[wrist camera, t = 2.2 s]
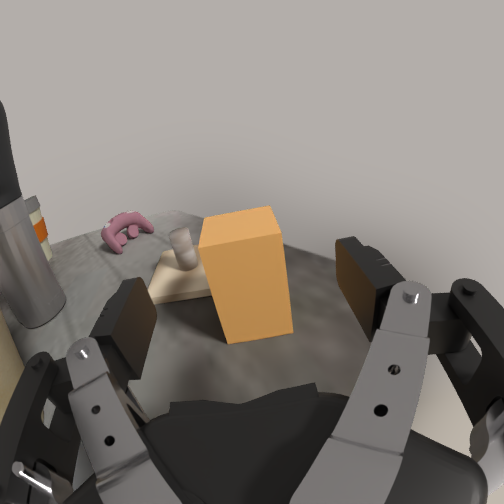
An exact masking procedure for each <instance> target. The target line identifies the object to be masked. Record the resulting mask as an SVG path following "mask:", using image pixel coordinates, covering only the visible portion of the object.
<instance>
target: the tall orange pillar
mask: <svg viewBox="0 0 504 504" xmlns="http://www.w3.org/2000/svg"><path fill="white" fill-rule="evenodd" d="M198 250H199V253H200V257H201V260H202V264H203V267H204V270H205V274H206V277H207V280H208V284H209V287H210V290H211V293H212V297H213V300H214V303H215V306H216V309H217V312H218V316H219V319H220V322H221V325H222V328H223V331H224V334H225V337H226V340H227V343H228V344H232V343H239V342H245V341H251V340H257V339H263V338H269V337H274V336H279V335H285V334H290V333H293V326H292V317H291V307H290V298H289V290H288V281H287V273H286V264H285V256H284V248H283V241H282V234H281V230H280V228H279V226H278V223H277V221H276V219H275V216H274V214H273V211H272V209H271V207H270V206H265V207H259V208H253V209H248V210H243V211H237V212H232V213H226V214H222V215H216V216H211V217H206V218H204V222H203V227H202V232H201V236H200V241H199V246H198Z"/></svg>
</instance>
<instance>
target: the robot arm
mask: <svg viewBox="0 0 504 504" xmlns="http://www.w3.org/2000/svg"><path fill="white" fill-rule="evenodd" d="M21 195H22V193H21V190H20V187H19V183H18V178H17V173H16V168H15V165H14V160H13V155H12V150H11V144H10V137H9V130H8V123H7V117H6V113H5V110H4V107H3V104H2V103H1V101H0V291H1V292H2V294H3V296H4V298H5V300H6V301H7V303H8V305H9V306H10V308H11V310H12V311H13V313H14V315H15V316H16V318H17V319H18V321H19V322H20V323H23V325H24V326H25V327H26V328H35V327H38V326H41V325H43V324H44V323H46V322H48V321H49V320H51V319H52V318H53V317H54V316H55V315H56V314H57V313H58V312H59V311H60V310H61V308H62V307H63V305H64V304H65V301H66V296H65V294H64V292H63V290H62V288H61V286H60V284H59V282H58V281H57V279H56V277H55V274H54V272H53V270H52V268H51V266H50V264H49V262H48V260H47V258H46V255H45V253H44V251H43V249H42V246H41V244H40V242H39V239H38V237H37V234H36V232H35V229H34V227H33V224H32V222H31V219H30V216H29V214H28V211H27V208H26V205H25V202H24V199H23V197H22V196H21ZM335 251H336V276H337V281H338V285H339V287H340V289H341V291H342V293H343V294H344V296H345V298H346V300H347V302H348V303H349V305H350V307H351V309H352V310H353V312H354V314H355V316H356V318H357V320H358V321H359V323H360V325H361V327H362V329H363V331H364V333H365V334H366V336H367V338H368V340H369V342H372V344H371V347H370V349H369V352H368V355H367V357H366V360H365V363H364V365H363V368H362V370H361V373H360V375H359V377H358V380H357V382H356V385H355V387H354V389H353V391H352V394H351V396H350V397H348V396H345V395H341V394H336V393H327V392H318V391H317V388H316V384H315V383H310V384H306V385H301V386H297V387H292V388H287V389H281V390H277V391H275V392H272V393H270V394H267V395H265V396H262V397H259V398H257V399H254V400H251V401H249V402H246V403H242V404H232V403H223V402H214V401H207V400H199V401H184V402H170V410H169V413H166V414H163V415H160V416H158V417H156V418H154V419H152V420H151V421H150V420H149V418H148V417H147V415H146V413H145V412H144V410H143V409H142V407H141V405H140V404H139V402H138V400H137V399H136V397H135V395H134V394H133V392H132V390H131V389H130V387H129V386H128V381H129V380H140V379H141V375H142V371H143V367H144V363H145V359H146V356H147V352H148V348H149V345H150V341H151V338H152V334H153V331H154V327H155V324H156V320H157V313H156V309H155V306H154V304H153V301H152V299H151V297H150V295H149V292H148V290H147V288H146V285H145V283H144V281H143V279H142V278H141V277H137V278H132V279H126V280H123V281H122V283H121V285H120V287H119V289H118V290H117V292H116V293H115V294H114V295H113V296H112V297H111V298H110V299H109V300H108V301H107V303H106V304H105V306H104V308H103V311H102V312H101V314H100V317H99V318H98V320H97V321H96V323H95V325H94V327H93V329H92V331H91V333H90V335H89V337H86V338H82V339H80V340H78V341H76V342H75V343H74V344H73V345H72V346H71V347H70V348H69V349H68V351H67V354H66V357H65V358H62V359H59V360H56V361H54V360H53V358H52V357H51V356H50V354H49V353H47V352H39V353H37V354H36V355H34V356H33V357H32V358H31V359H30V360H29V361H28V363H27V364H26V366H25V368H24V370H23V373H22V375H21V377H20V379H19V381H18V383H17V385H16V387H15V390H14V392H13V394H12V396H11V399H10V401H9V404H8V406H7V408H6V411H5V413H4V416H3V419H2V421H1V424H0V504H486V503H487V497H488V495H489V494H491V493H492V492H494V491H495V490H496V489H498V488H499V487H501V486H502V485H503V484H504V308H503V307H502V306H501V305H500V304H499V303H498V302H497V300H496V299H495V298H494V297H493V296H492V295H491V294H490V293H489V292H488V291H487V290H486V289H485V288H484V287H483V286H482V285H481V284H480V283H479V282H477V281H475V280H472V279H467V278H463V279H458V280H456V281H455V282H454V283H453V284H452V287H451V291H450V293H434V294H433V293H432V294H431V292H430V290H429V289H428V288H427V287H426V286H424V285H423V284H421V283H418V282H414V281H406V280H405V279H404V278H403V276H402V275H401V274H400V273H399V272H398V271H397V270H396V269H395V268H394V267H393V266H392V264H390V262H389V261H388V260H387V259H385V257H384V256H383V255H382V254H381V253H380V252H379V251H378V250H376V249H374V248H372V247H370V246H363V245H362V244H361V243H360V242H359V241H358V240H357V239H356V237H354V236H353V237H348V238H342V239H337V240H336V243H335ZM471 336H473V338H474V339H475V340H476V342H477V343H478V345H479V346H480V348H481V351H482V357H481V355H480V354H479V352H478V351H477V349H476V348H475V347H474V345H473V343H472V342H471V340H470V339H471ZM430 354H436V355H437V357H438V359H439V360H440V362H441V364H442V366H443V367H444V370H445V371H446V373H447V375H448V377H449V379H450V380H451V382H452V384H453V386H454V388H455V390H456V392H457V394H458V396H459V398H460V400H461V402H462V403H463V406H464V408H465V410H466V412H467V414H468V416H469V418H470V420H471V423H472V425H473V429H472V431H471V434H470V448H469V451H470V453H471V454H472V456H471V458H470V457H469V456H466V455H464V454H462V453H459V452H457V451H455V450H453V449H451V448H449V447H446V446H444V445H442V444H440V443H438V442H435V441H434V440H432V439H430V438H428V437H425V436H423V435H421V434H419V433H417V432H415V431H413V430H412V429H411V426H412V423H413V419H414V415H415V412H416V407H417V404H418V400H419V396H420V392H421V387H422V383H423V378H424V373H425V367H426V362H427V356H428V355H430ZM47 398H48V399H49V400H50V401H51V402H52V403H53V404H54V405H55V406H56V409H55V412H54V415H53V418H52V421H51V424H50V428H49V429H48V428H47V427H46V426H45V425H44V424H43V422H42V419H41V413H42V410H43V407H44V405H45V402H46V399H47ZM81 439H82V442H83V445H84V447H85V450H86V453H87V455H88V458H89V460H90V462H91V465H92V467H93V469H94V472H95V473H94V474H93V475H92V476H91V477H90V478H88V479H87V480H86V481H85V482H84V483H83V484H82V485H81V486H80V487H79V488H78V489H77V490H76V491H74V492H73V488H72V483H73V477H74V471H75V465H76V460H77V455H78V450H79V445H80V440H81Z"/></svg>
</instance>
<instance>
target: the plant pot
mask: <svg viewBox="0 0 504 504" xmlns="http://www.w3.org/2000/svg"><path fill="white" fill-rule="evenodd" d="M24 368H25V367H24V365H23V362H22V360H21V358H20V355H19V353H18V351H17V348H16V346H15V343H14V341H13V339H12V336H11V334H10V331H9V329H8V326H7V324H6V321H5V319H4V316H3V314H2V311H1V309H0V424H1V421H2V419H3V416H4V413H5V411H6V408H7V406H8V404H9V401H10V399H11V396H12V394H13V392H14V390H15V387H16V385H17V383H18V381H19V379H20V377H21V375H22V373H23V370H24ZM41 419H42V422H43V420H44V413H43V410H42V413H41Z"/></svg>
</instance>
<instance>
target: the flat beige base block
mask: <svg viewBox="0 0 504 504" xmlns="http://www.w3.org/2000/svg"><path fill="white" fill-rule="evenodd" d="M169 238H170V241H171V245H172V248H173V250H169V251H164V252H163V253H162V255H161V258H160V260H159V263H158V265H157V267H156V270H155V272H154V275H153V277H152V280H151V282H150V285H149V288H148V292H149V295H150V297H151V299H152V301H153V304H160V303H167V302H174V301H180V300H187V299H193V298H199V297H205V296H211V295H212V293H211V290H210V287H209V284H208V280H207V277H206V274H205V270H204V267H203V264H202V260H201V257H200V253H199V250H198V246H199V245H194V246H193V244H192V241H191V237H190V234H189V230H188V228H185V227H183V228H178V229H175V230H173V231H171V232H170V233H169Z"/></svg>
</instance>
